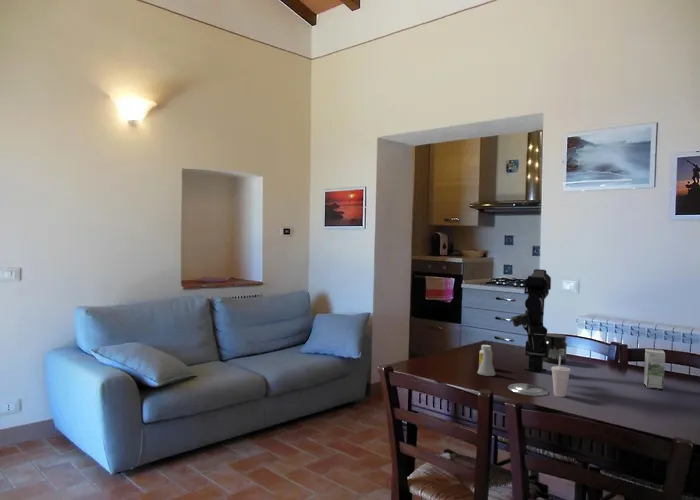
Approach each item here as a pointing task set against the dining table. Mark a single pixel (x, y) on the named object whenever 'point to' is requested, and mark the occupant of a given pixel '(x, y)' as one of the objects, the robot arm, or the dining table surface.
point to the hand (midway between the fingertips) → (533, 348)
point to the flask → (486, 364)
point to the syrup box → (654, 368)
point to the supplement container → (556, 348)
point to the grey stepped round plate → (528, 389)
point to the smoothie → (560, 379)
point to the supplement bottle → (483, 353)
